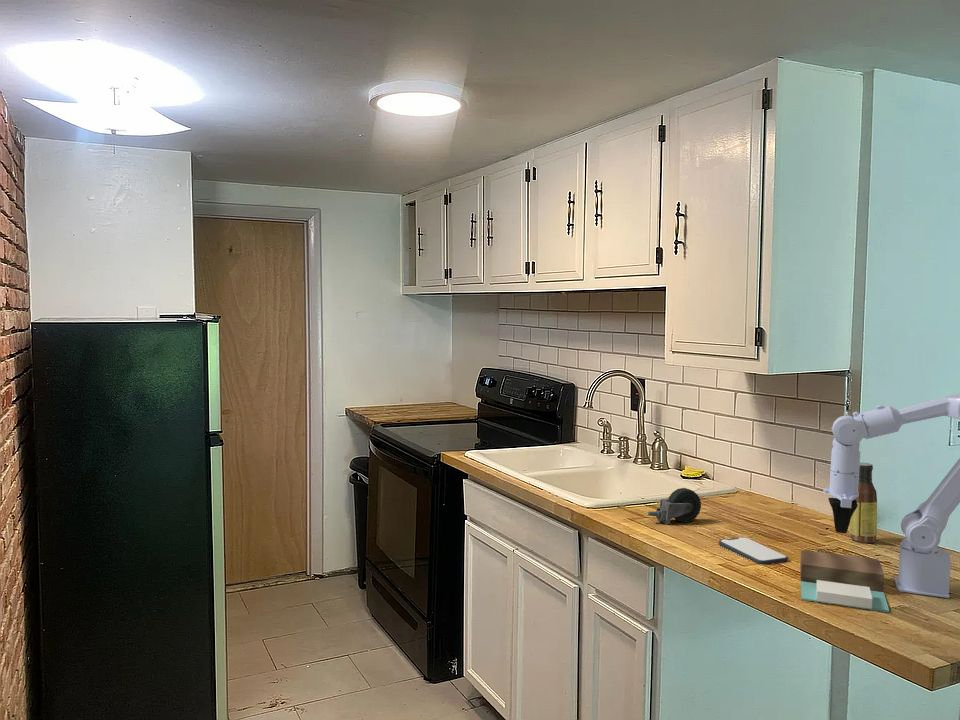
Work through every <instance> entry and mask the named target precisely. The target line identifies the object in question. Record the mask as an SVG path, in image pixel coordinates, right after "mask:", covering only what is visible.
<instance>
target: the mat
mask: <svg viewBox="0 0 960 720" xmlns="http://www.w3.org/2000/svg"><path fill="white" fill-rule="evenodd" d="M800 593H801V594H800V595H801V601H804V600H805V601H806V600H807V601H806V602H811V601H814V602H813V603H818V602H821V601H817V595H816V583H811V582H803V581H801V580H800ZM871 595H872V609H869V608H862V607H856V608H855V609H860V608H862V609H861V610H867V609H869V610H868V611H876V612H881V613H890V609H889V606H888V605H889V604H888V603H887V599H886V596H885V592H884V591H883V592H877V591H871ZM825 603H828V602H821V604H825ZM832 604H835V603H830V604H829V605H832ZM839 605H842V604H838V605H837V606H839ZM846 606H848V605H844V606H843V605H842V606H841V607H846ZM853 607H855V606H848V608H853Z"/></svg>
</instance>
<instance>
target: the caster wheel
mask: <svg viewBox="0 0 960 720" xmlns="http://www.w3.org/2000/svg"><path fill="white" fill-rule="evenodd" d="M701 508H702V501H701V498H700V496H699V494H697V493H696V492H695V491H694V490H692V489H689V488H686V487H682V488H681V487H680V488H677V489H674V491H672V493H670V495H669V497H668V498H667V499H666V498H665V499H664V498H661V499H659V507H657V508H656V510H655V511H648V512H647V516H649V517H650V516H651V517H655V518H656V520H657V522H658V521H659V522H662V523H663V524H665V525H670V524H671V520H673V519H674V520H676V521H678V522H680V523H688V522H691V521H693V520H695V519H696V518H697V517H698V516H699V515H700V513H701Z"/></svg>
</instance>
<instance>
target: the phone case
mask: <svg viewBox="0 0 960 720" xmlns="http://www.w3.org/2000/svg"><path fill="white" fill-rule="evenodd" d="M719 545H720V546H719ZM718 546H719V547H721V546H722V547H721V548H723V547H724V548H723V549H725V548H726V549H725V550H727V549H728V551H729V550H731V551H732V552H731V551H730V552H731V553H733V552H735V553H737V554H736V555H738V554H739V555H738V556H740V555H741V556H740V557H742V556H743V557H742V558H744V557H745V559H746V558H747V560H748V559H750V560H752V561H751V562H753V561H754V562H753V563H755V562H756V563H755V564H757V563H758V564H757V565H760V564H762V565H761V566H764V565H763V564H768V565H773V564H772V563H775V564H780V563H779V562H783V563H787V562H786V561H788V562H789V557H788V556H787V555H785V554H783V553H780V552H779V551H777V550H774V549H772V548H770V547H768V546H765V545H763V544H761V543H759V542H757V541H754V540H752V539H750V538H749V537H744V536H742V537H741V536H740V537H734V538H724V539H719V540H718ZM735 553H734V554H735ZM750 560H749V561H750Z"/></svg>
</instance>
